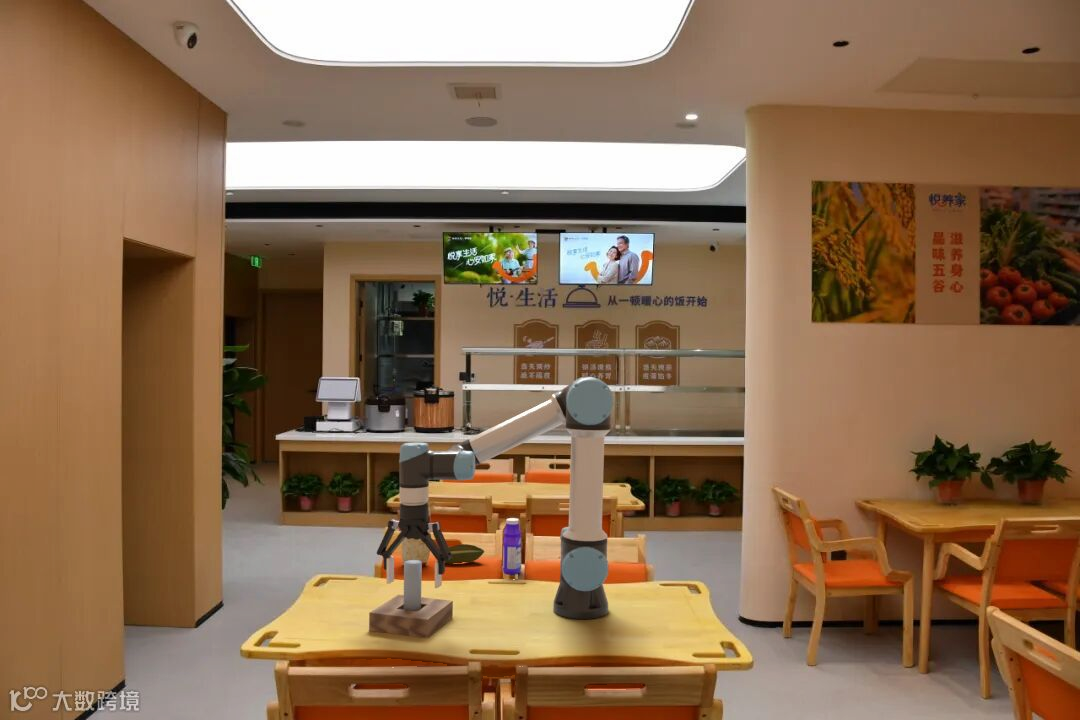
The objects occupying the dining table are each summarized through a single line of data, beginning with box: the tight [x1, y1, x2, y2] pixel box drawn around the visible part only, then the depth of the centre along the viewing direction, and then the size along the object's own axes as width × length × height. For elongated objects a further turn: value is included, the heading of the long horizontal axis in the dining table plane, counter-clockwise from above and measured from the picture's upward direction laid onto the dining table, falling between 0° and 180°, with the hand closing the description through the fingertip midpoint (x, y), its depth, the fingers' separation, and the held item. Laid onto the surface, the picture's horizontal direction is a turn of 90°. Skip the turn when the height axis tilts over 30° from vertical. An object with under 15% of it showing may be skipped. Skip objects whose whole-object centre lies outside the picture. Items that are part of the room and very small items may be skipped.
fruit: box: [445, 543, 485, 565], centre depth 264 cm, size 11×12×7 cm
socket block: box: [368, 594, 454, 639], centre depth 202 cm, size 16×16×4 cm
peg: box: [403, 560, 423, 611], centre depth 202 cm, size 4×4×16 cm
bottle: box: [502, 517, 522, 576], centre depth 253 cm, size 7×6×17 cm
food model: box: [401, 507, 432, 567], centre depth 260 cm, size 10×7×20 cm
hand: (414, 584), depth 202 cm, fingers open, 13 cm apart
